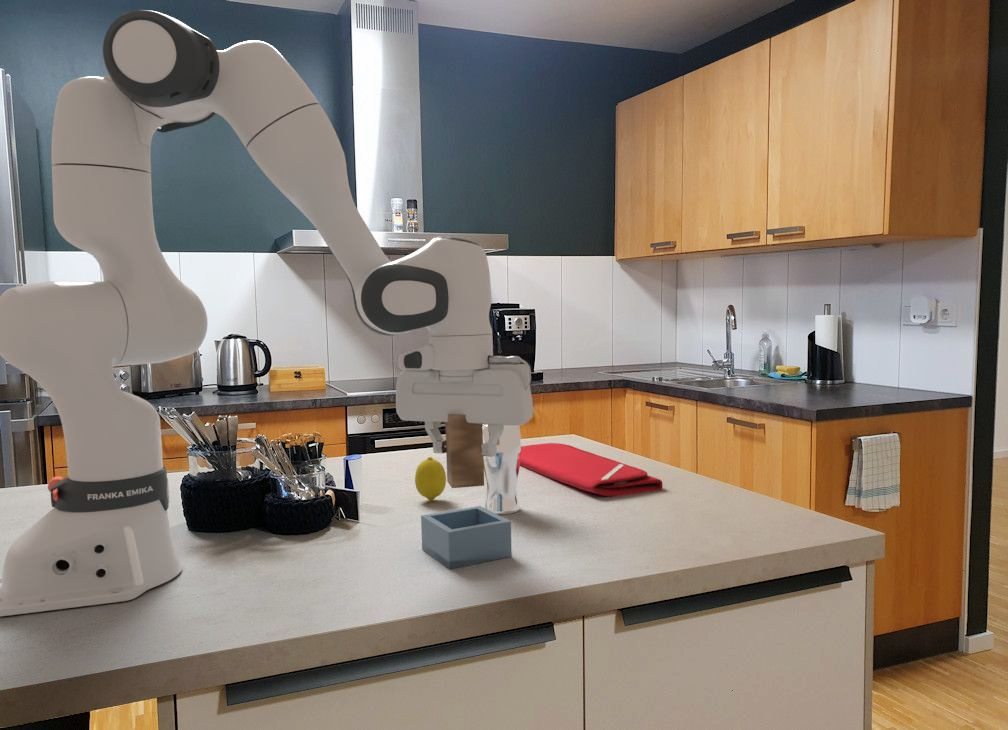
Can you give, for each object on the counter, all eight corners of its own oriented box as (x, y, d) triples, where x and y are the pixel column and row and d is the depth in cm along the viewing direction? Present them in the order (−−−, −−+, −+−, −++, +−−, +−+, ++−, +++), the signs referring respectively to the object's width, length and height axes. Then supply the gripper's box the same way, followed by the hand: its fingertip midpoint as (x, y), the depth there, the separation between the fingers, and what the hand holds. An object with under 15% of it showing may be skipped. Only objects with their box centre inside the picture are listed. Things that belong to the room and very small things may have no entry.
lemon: (441, 505, 133) (440, 460, 132) (411, 504, 134) (410, 460, 133) (450, 497, 138) (449, 454, 138) (421, 496, 139) (419, 453, 139)
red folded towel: (563, 453, 179) (562, 438, 178) (665, 492, 141) (665, 472, 141) (501, 460, 172) (501, 444, 172) (591, 502, 135) (591, 481, 135)
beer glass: (508, 517, 125) (506, 427, 123) (473, 512, 128) (471, 424, 127) (529, 507, 130) (528, 421, 129) (495, 502, 134) (493, 418, 133)
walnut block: (452, 488, 104) (449, 415, 103) (447, 481, 108) (444, 411, 107) (484, 485, 104) (482, 413, 104) (478, 478, 109) (476, 409, 108)
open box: (449, 569, 101) (448, 532, 100) (422, 549, 109) (421, 515, 109) (511, 556, 105) (510, 521, 105) (480, 538, 114) (480, 505, 113)
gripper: (539, 354, 103) (541, 454, 104) (412, 354, 112) (415, 446, 113) (520, 357, 98) (523, 463, 99) (387, 357, 106) (391, 454, 107)
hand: (464, 454), depth 106 cm, fingers closed on walnut block, 6 cm apart
